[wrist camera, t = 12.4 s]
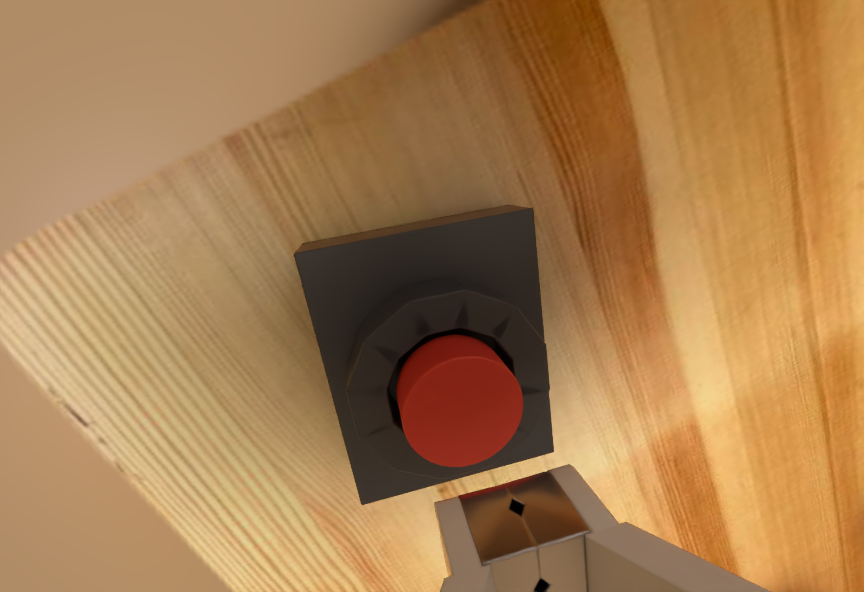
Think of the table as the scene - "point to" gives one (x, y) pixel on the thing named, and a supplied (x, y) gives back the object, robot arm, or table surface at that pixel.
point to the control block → (425, 331)
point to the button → (458, 401)
